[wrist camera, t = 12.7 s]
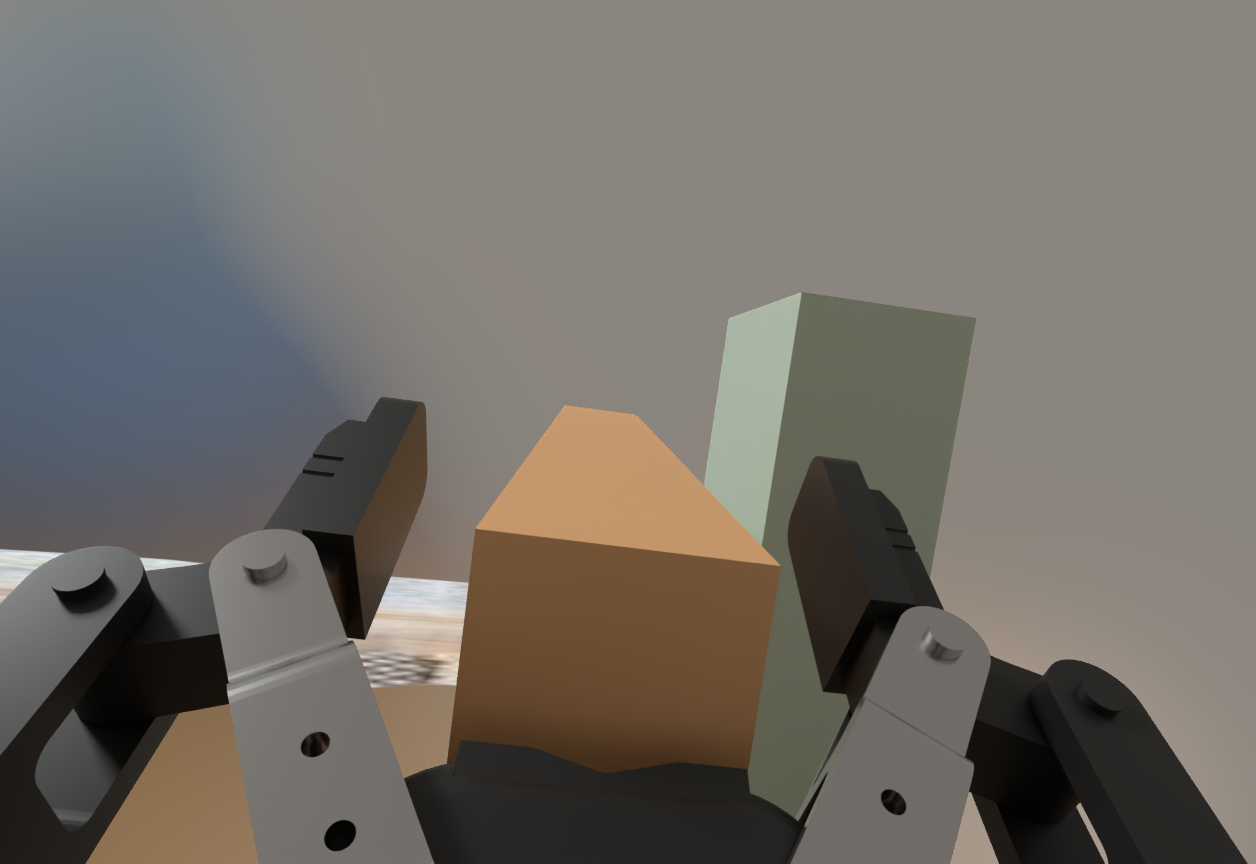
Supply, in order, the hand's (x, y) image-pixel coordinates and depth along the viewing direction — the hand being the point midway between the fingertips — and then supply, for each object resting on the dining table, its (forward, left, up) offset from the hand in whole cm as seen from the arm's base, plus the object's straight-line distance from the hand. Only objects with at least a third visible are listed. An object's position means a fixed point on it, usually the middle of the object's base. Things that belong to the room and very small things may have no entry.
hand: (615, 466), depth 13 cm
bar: (0, +8, -4) cm, 8 cm away
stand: (+12, +25, -26) cm, 38 cm away
